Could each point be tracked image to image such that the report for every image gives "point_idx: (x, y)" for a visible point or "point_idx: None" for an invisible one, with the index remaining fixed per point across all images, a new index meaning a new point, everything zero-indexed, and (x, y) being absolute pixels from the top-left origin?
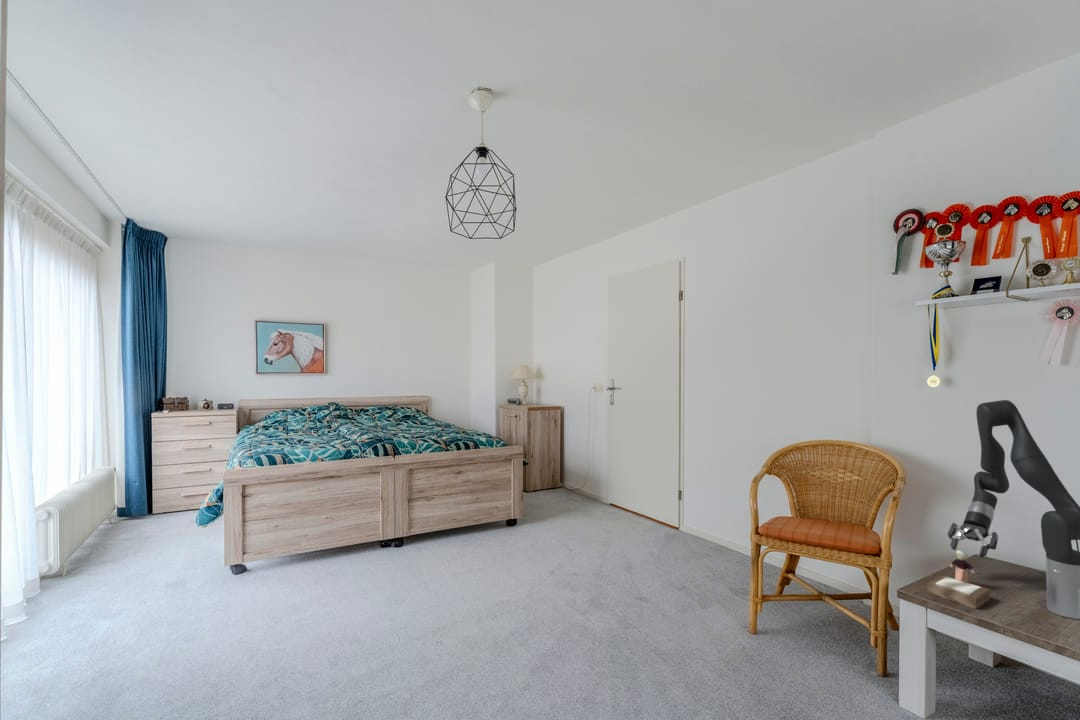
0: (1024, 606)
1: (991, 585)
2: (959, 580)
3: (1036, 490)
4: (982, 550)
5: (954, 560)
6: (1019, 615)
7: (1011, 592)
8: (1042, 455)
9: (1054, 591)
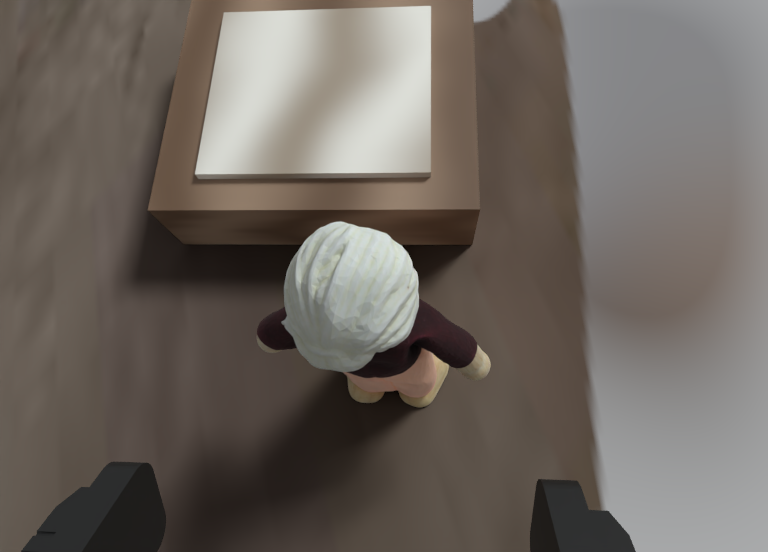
0: (9, 309)
1: None
2: (349, 207)
3: None
4: (66, 521)
5: (441, 317)
6: (33, 147)
7: None
8: None
9: None
